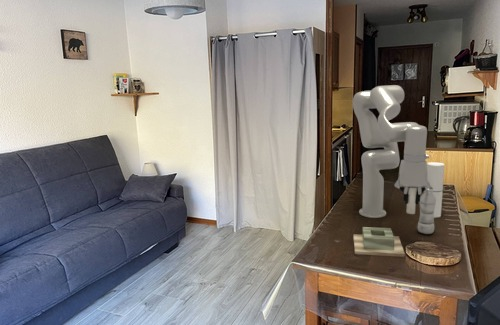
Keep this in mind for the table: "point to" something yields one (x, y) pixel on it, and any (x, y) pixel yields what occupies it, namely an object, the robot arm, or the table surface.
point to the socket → (378, 242)
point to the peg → (411, 200)
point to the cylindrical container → (436, 183)
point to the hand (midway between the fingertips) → (411, 202)
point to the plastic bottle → (427, 212)
